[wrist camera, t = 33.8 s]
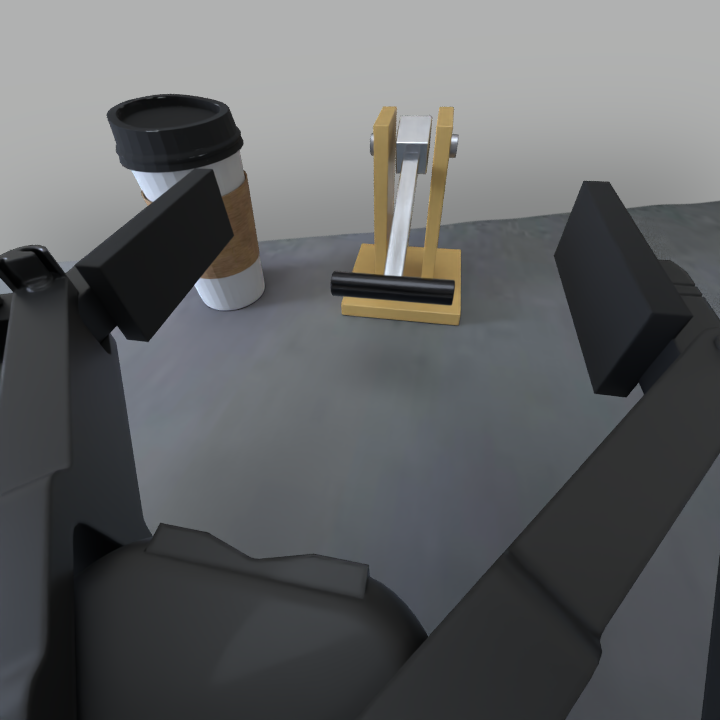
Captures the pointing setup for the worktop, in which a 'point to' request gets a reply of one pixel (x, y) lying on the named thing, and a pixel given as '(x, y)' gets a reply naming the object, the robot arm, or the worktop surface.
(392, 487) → the worktop surface
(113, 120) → the coffee cup
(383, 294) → the lever handle
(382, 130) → the lever stand
